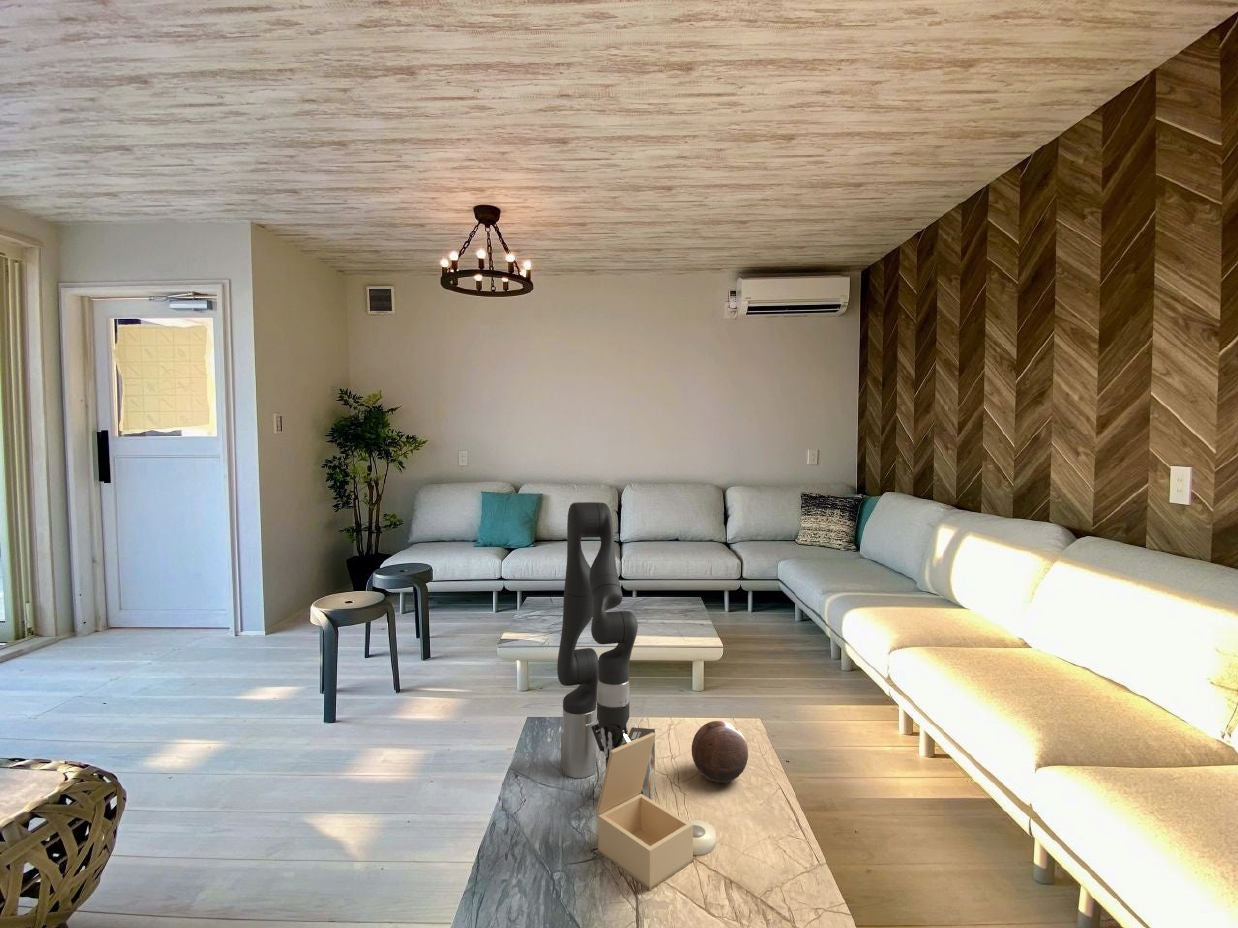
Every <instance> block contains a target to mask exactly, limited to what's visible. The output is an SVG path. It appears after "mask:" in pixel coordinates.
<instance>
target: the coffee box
mask: <svg viewBox="0 0 1238 928" xmlns="http://www.w3.org/2000/svg"><path fill="white" fill-rule="evenodd" d="M629 730H630V731H629V733H628V734H627V736H628V738H629V739H630V741H631V740H635V739H639V738H641V737H643V736H646V735H648V734H651V733H653V732H654V733H655V734H656V729H655V728H644V727H631V728H630V729H629ZM655 752H656V738H655V739H654V743H653V747H652V751H651V755H650V759H649V763H648V767H647V771H646V775H645V779H644V783H643V787H642V791H641V793H640V794H642V795H644V796H646V797H647V798H649V799H651V800H652V801H653V798H654V797H653V796H654V793H655V790H656V787H655V786H656V785H655V783H656V782H655V781H656V774H655V773H656V772H655V771H656V770H655V769H656V765H655V762H656V760H655V759H656V753H655ZM638 795H639V794H638ZM636 796H637V795H636ZM634 797H635V796H634ZM632 798H633V797H632ZM630 799H631V798H630ZM628 800H629V799H628ZM628 800H626V801H628ZM626 801H624V802H626Z"/></svg>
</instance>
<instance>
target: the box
mask: <svg viewBox="0 0 1238 928" xmlns="http://www.w3.org/2000/svg"><path fill="white" fill-rule="evenodd" d="M597 815H598V816H597V817H598V819H597V820H598V821H597V822H598V824H597V829H598V830H597V839H598V841H597V844H598V845H597V852H598V853H599V854H600V855H602V856H603V857H604V858H605V859H607V860H609V861H610V862H611V863H612V864H614V865H615V866H616V867H618V868H619V869H621V871H623V872H624V873H625V874H627V875H629V877H631V878H632V879H633V880H635V881H636V882H638V883H639V884H640V885H642V886H643V887H644V888H646V889H647V890H648V891H651V890H653V889H654V888H656V887H658V886H659V885H660V884H662V883H664V882H665V881H667V880H668V879H669V878H671V877H673V876H674V875H676V874H677V873H678V872H680V871H682V870H683V869H684V868H686V867H687V866H689V865H690V864H692V863H693V862H694V855H693V824H691V823H689V822H688V821H686V819H684V818H683V817H681V816H679V815H678V814H676V813H674V812H673V811H671V810H669V809H667V808H666V807H664V806H662V805H661V804H659V803H657V802H656V801H654V800H653V799H652V800H651V799H649V798H647V797H646V796H644V795H642V794H639V795H637V796H635V797H633V798H631V799H629V800H628V801H626V802H625V801H624V802H622V803H620V804H618V805H616V806H614V807H612V808H610V809H608V810H606V811H604V812H602V813H600V814H597Z"/></svg>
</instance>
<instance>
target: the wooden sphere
mask: <svg viewBox="0 0 1238 928" xmlns="http://www.w3.org/2000/svg"><path fill="white" fill-rule="evenodd" d="M747 744H748V743H747V741H746V739H745V736H744V735H743V733H742V732H741V731H740V730H739V729H738V728H737V727H736V726H735V725H733V724H732V723H729V722H727V721H722V720H713V721H710V722H707V723H705V724H703V725H702V726H701V727H700V728H699V729H698V730H697V731H696V733H695V734H694V736H693V739H692V743H691V757H692V761H693V763H694V765H695V767H696V769H697V771H699V773H700V774H701V775H702V776H704V777H705V778H706V779H707V780H710V781H712V782H715V783H720V784H721V783H729V782H731V781H734V780H736V779H737V778H738V777H740V776H741V774H742V773H744V770H745V768H746V766H747V764H748V760H749V748H748V745H747Z"/></svg>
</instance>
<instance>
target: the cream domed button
mask: <svg viewBox="0 0 1238 928" xmlns="http://www.w3.org/2000/svg"><path fill="white" fill-rule="evenodd" d="M685 820H686V819H685ZM686 821H688V822H689V823H691V824H693V856H703V855H708V854H710V853H712V852H713V851H714V850H715V848H716V846H717V843H716V842H717V841H716V840H717V838H716V837H717V832H716V830H715V827H714V826H713V825H711V824H710V823H708V822H706V821H704V820H702V819H701V820H700V819H687V820H686Z"/></svg>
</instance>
